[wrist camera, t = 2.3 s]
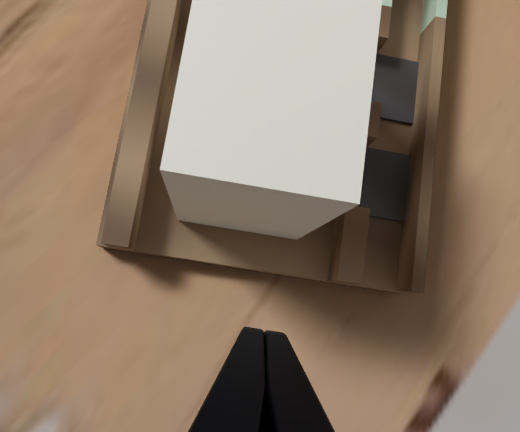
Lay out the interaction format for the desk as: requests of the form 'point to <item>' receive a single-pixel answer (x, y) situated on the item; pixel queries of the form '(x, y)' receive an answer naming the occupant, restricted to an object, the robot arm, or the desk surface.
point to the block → (271, 113)
